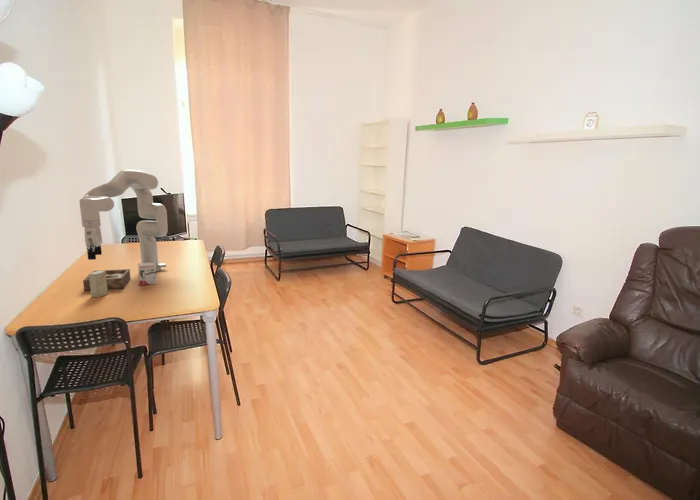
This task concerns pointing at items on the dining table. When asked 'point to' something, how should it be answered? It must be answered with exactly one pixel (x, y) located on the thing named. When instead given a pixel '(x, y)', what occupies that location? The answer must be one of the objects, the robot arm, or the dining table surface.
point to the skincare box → (98, 283)
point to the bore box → (112, 279)
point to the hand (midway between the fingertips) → (95, 257)
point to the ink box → (147, 273)
